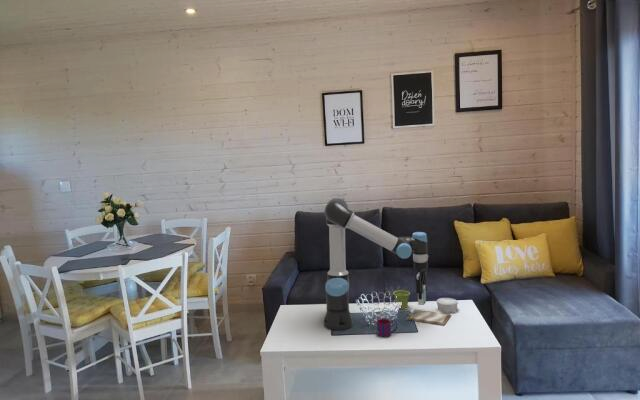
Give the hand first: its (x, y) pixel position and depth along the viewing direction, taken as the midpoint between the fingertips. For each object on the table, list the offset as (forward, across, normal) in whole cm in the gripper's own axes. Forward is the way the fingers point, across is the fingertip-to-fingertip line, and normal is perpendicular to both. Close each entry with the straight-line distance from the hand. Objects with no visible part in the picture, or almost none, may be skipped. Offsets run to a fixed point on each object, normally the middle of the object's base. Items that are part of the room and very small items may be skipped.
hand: (422, 303), depth 240 cm
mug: (+6, -33, +8) cm, 34 cm away
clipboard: (+6, -4, -5) cm, 9 cm away
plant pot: (+6, +5, +13) cm, 15 cm away
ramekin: (+7, +11, -11) cm, 17 cm away
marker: (0, 0, 0) cm, 0 cm away
